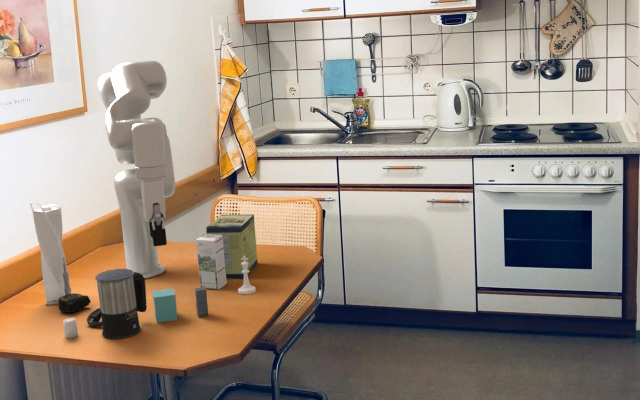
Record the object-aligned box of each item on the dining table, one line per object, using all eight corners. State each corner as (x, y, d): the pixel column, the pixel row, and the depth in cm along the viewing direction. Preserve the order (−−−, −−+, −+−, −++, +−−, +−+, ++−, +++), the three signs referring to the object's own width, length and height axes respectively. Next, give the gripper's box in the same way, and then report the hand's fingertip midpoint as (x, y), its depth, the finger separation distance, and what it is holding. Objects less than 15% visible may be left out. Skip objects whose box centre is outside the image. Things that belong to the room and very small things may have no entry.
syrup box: (227, 283, 231) (223, 234, 228) (218, 290, 225) (213, 239, 222) (209, 282, 233) (204, 233, 229) (199, 289, 227) (195, 239, 224)
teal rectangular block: (155, 315, 208) (152, 291, 207) (175, 312, 209) (173, 288, 208) (156, 322, 203) (154, 297, 202) (177, 319, 204) (175, 294, 203)
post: (197, 314, 208) (194, 288, 206) (207, 312, 208) (204, 286, 207) (198, 317, 205) (195, 291, 204) (208, 316, 206) (206, 289, 204)
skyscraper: (40, 306, 220) (26, 205, 214) (45, 296, 228) (32, 199, 222) (72, 302, 222) (59, 202, 216) (76, 293, 229) (64, 196, 223)
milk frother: (131, 340, 193) (124, 280, 190) (69, 339, 196) (62, 280, 192) (153, 318, 206) (147, 262, 203) (95, 317, 209) (88, 262, 206)
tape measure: (71, 316, 212) (69, 302, 211) (53, 312, 215) (52, 299, 215) (91, 308, 217) (90, 294, 216) (74, 304, 221) (72, 291, 220)
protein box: (258, 263, 249) (254, 213, 245) (244, 279, 234) (240, 226, 230) (225, 263, 251) (221, 214, 247) (209, 279, 236) (205, 227, 232)
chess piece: (253, 294, 220) (250, 258, 218) (235, 293, 221) (232, 258, 219) (258, 288, 225) (255, 253, 223) (241, 288, 226) (238, 253, 224)
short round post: (65, 334, 199) (63, 319, 198) (78, 332, 199) (76, 317, 199) (65, 338, 196) (62, 323, 195) (77, 337, 197) (75, 321, 196)
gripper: (133, 169, 205) (141, 235, 209) (137, 179, 189) (145, 251, 192) (164, 166, 207) (170, 231, 211) (170, 176, 191) (177, 247, 194)
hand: (158, 240), depth 201 cm, fingers open, 9 cm apart
